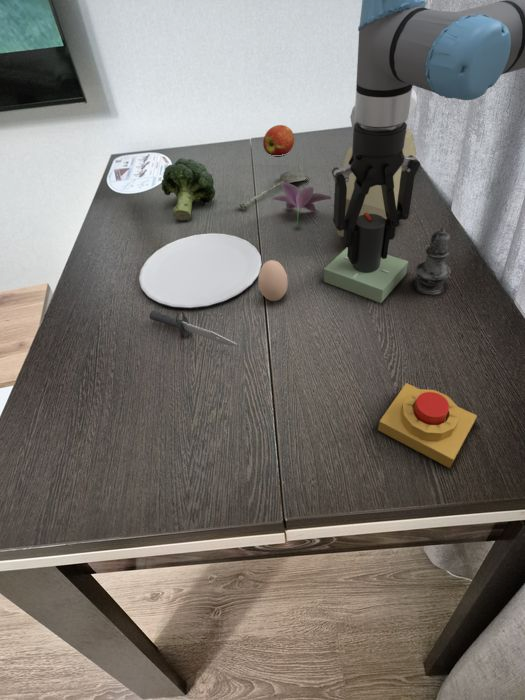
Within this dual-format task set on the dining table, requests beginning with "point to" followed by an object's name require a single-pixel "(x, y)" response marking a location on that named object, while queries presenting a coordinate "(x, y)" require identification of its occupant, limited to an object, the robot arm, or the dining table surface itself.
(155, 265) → the plate
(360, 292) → the dial panel
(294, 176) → the soupspoon
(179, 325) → the knife
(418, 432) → the button box
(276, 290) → the egg
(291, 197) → the lily
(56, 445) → the dining table surface
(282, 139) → the apple
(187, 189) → the vegetable
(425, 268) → the chess piece
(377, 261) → the dial
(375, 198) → the tan faceted bottle
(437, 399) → the button
